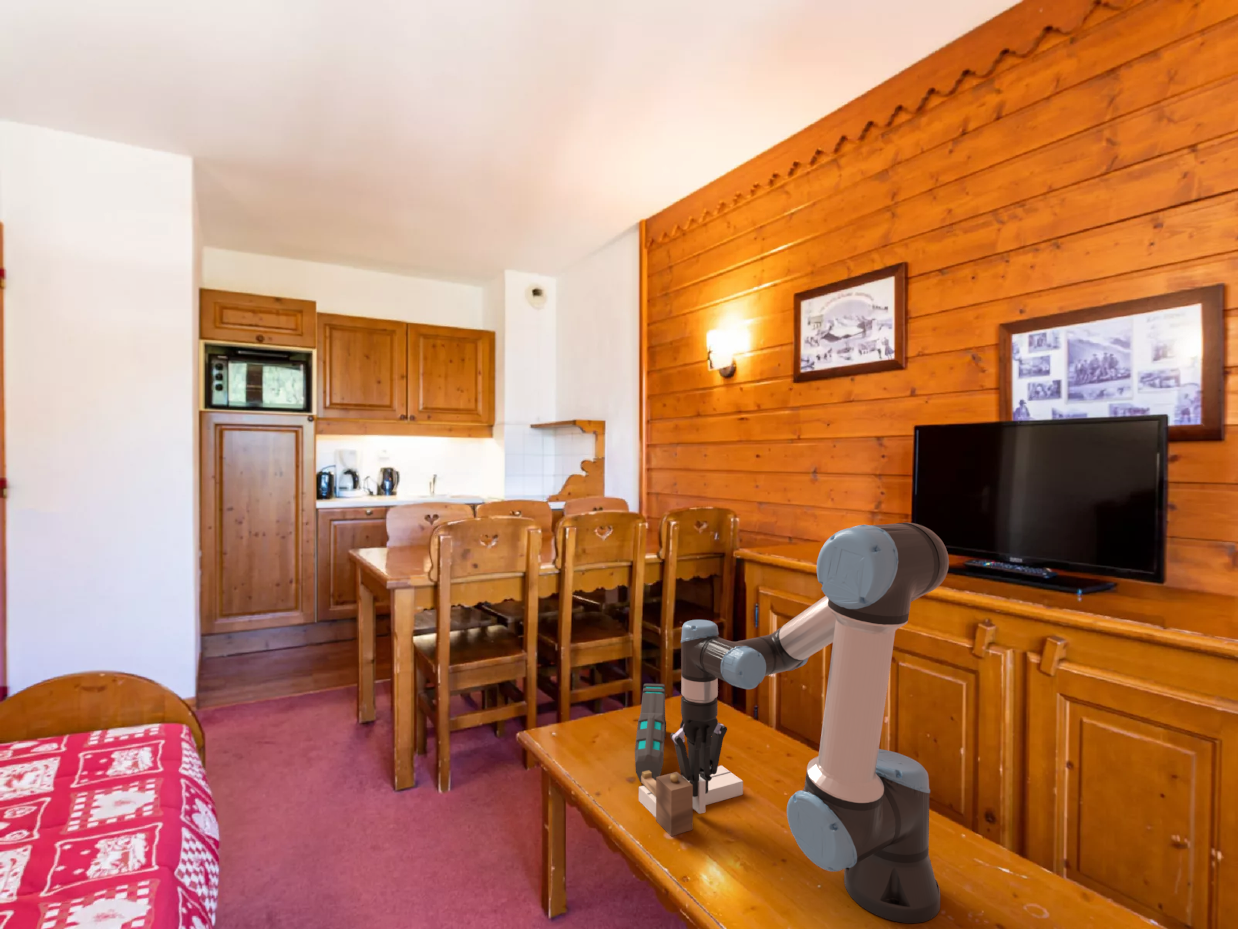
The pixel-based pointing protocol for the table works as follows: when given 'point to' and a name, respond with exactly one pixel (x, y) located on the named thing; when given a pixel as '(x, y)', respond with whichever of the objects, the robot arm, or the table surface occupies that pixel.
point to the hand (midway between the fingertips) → (698, 809)
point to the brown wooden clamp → (671, 801)
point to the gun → (651, 731)
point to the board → (718, 790)
